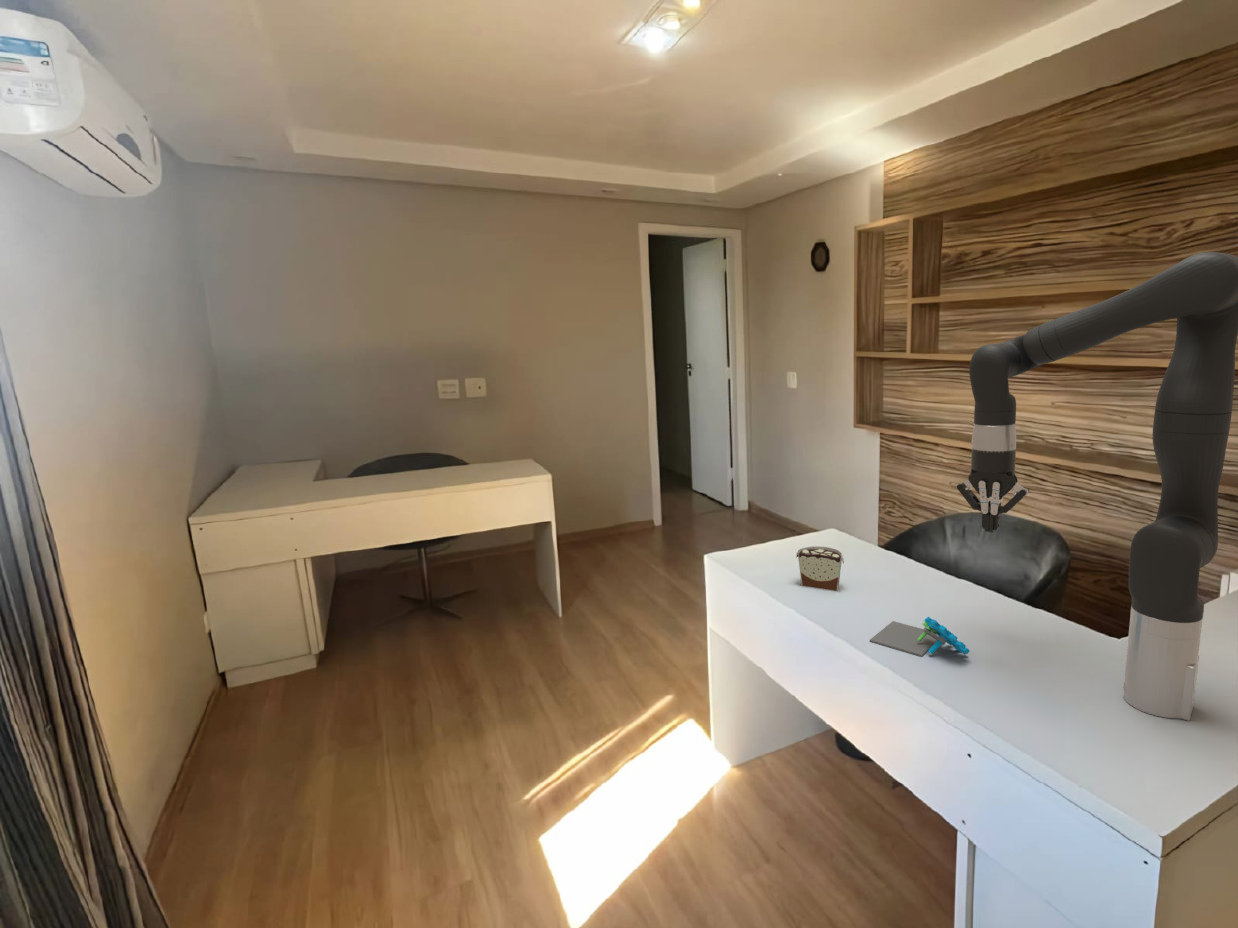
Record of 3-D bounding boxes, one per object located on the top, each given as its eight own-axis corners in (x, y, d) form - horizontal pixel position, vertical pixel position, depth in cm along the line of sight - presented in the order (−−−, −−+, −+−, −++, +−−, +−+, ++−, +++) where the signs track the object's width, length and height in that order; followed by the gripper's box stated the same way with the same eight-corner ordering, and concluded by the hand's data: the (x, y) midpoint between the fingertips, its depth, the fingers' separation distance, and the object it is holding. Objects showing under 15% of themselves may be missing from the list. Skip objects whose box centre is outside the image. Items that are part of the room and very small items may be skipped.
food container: (849, 584, 172) (849, 548, 170) (843, 592, 166) (843, 556, 165) (803, 577, 178) (802, 543, 176) (796, 585, 173) (795, 550, 171)
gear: (980, 657, 129) (952, 627, 126) (960, 678, 129) (932, 648, 126) (943, 633, 139) (917, 605, 137) (924, 653, 139) (897, 625, 137)
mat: (943, 635, 140) (943, 634, 140) (921, 656, 132) (921, 655, 132) (892, 622, 148) (892, 620, 148) (869, 641, 140) (869, 639, 140)
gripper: (1037, 445, 124) (1033, 531, 127) (963, 441, 133) (961, 522, 137) (1027, 451, 119) (1022, 541, 122) (950, 447, 128) (948, 530, 131)
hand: (990, 531), depth 129 cm, fingers closed
